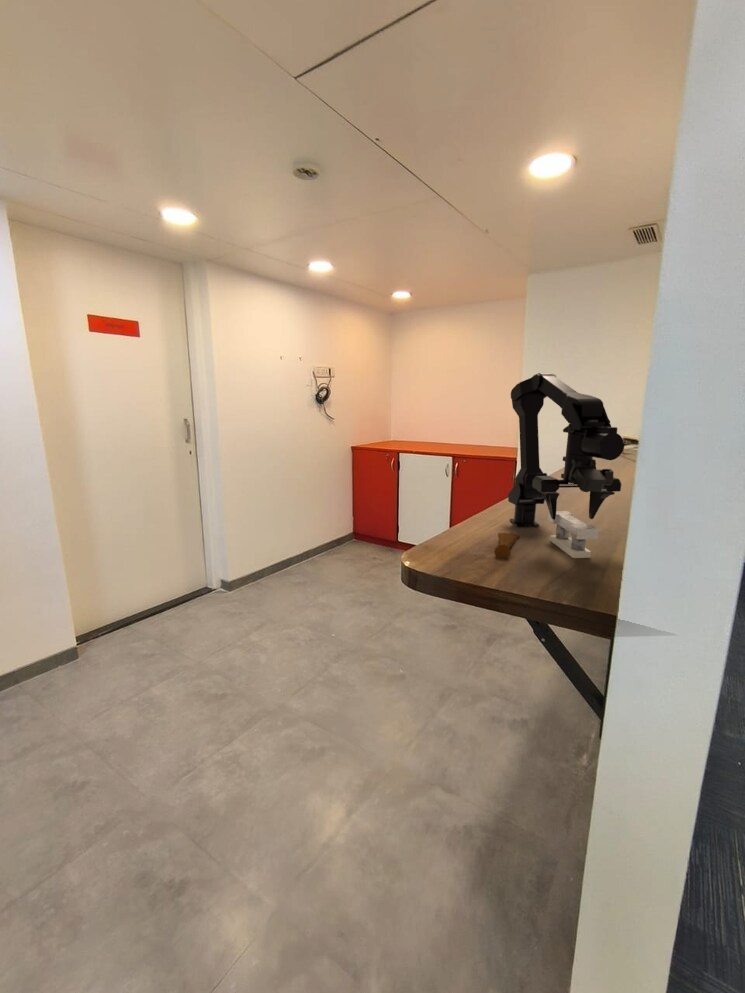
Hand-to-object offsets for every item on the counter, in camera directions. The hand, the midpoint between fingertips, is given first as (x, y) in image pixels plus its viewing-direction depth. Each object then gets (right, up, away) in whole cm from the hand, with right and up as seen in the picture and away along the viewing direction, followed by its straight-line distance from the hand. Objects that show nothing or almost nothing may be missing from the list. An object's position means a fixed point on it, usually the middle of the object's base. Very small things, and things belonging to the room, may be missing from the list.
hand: (572, 519), depth 106 cm
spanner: (0, -2, +1) cm, 2 cm away
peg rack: (0, -7, +2) cm, 8 cm away
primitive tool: (-15, -7, +5) cm, 17 cm away
